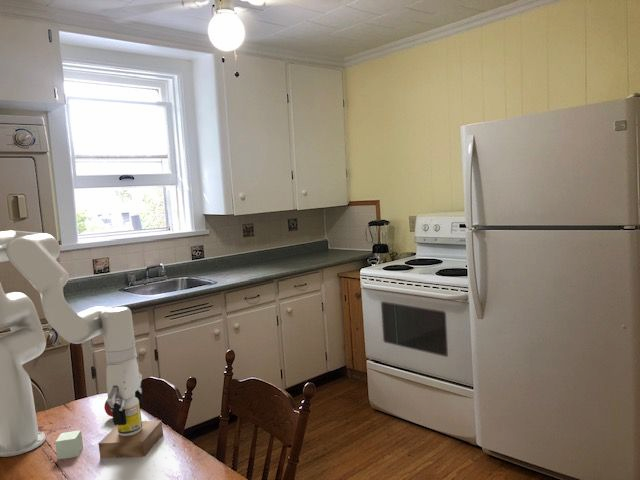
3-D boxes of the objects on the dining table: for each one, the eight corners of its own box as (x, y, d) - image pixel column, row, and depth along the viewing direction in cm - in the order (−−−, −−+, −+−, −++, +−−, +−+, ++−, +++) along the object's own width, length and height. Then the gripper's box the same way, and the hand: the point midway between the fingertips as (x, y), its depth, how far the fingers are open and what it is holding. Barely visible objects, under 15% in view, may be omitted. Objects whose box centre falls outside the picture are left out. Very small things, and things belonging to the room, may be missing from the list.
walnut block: (100, 457, 134) (98, 443, 133) (122, 435, 146) (120, 422, 145) (144, 456, 133) (142, 441, 132) (163, 434, 144) (161, 420, 144)
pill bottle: (125, 426, 142) (120, 387, 141) (146, 425, 141) (141, 387, 140) (113, 437, 136) (108, 397, 135) (135, 437, 135) (130, 396, 134)
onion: (119, 422, 155) (115, 396, 154) (102, 421, 156) (98, 396, 155) (129, 413, 161) (126, 388, 160) (113, 413, 162) (110, 388, 161)
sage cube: (57, 459, 135) (55, 441, 135) (64, 450, 140) (61, 432, 139) (77, 456, 136) (75, 438, 135) (83, 447, 141) (80, 430, 140)
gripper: (123, 344, 146) (130, 403, 147) (90, 366, 128) (99, 432, 130) (148, 343, 145) (155, 402, 146) (119, 364, 128) (127, 431, 129)
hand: (129, 416), depth 138 cm, fingers open, 9 cm apart
